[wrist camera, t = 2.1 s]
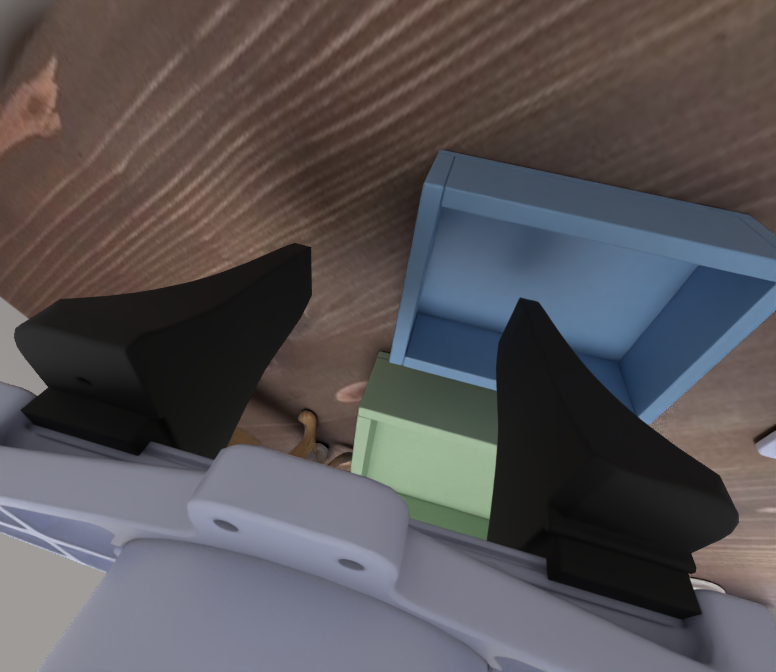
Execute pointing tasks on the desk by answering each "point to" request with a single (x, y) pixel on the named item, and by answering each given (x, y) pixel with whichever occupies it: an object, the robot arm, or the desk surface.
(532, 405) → the robot arm
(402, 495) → the big bin
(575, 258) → the blue bin
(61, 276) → the desk surface
